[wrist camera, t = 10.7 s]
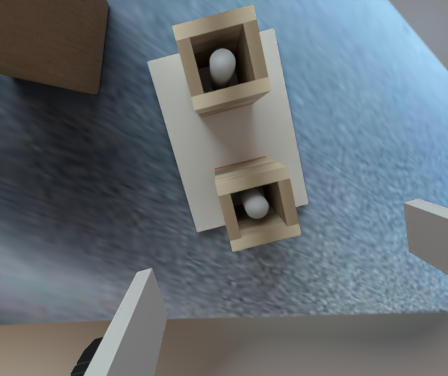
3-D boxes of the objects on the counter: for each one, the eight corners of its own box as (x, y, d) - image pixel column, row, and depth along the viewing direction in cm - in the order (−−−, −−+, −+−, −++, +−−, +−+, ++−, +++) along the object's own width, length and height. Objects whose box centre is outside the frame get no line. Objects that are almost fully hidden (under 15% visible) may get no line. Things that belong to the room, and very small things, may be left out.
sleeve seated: (200, 117, 30) (194, 110, 21) (185, 62, 29) (171, 25, 19) (252, 104, 30) (271, 90, 20) (239, 47, 29) (253, 4, 19)
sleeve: (226, 216, 33) (232, 251, 23) (214, 168, 32) (215, 184, 22) (274, 204, 33) (301, 234, 23) (264, 155, 31) (287, 166, 22)
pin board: (198, 226, 35) (191, 268, 24) (151, 66, 31) (118, 30, 20) (303, 199, 35) (343, 229, 24) (270, 34, 31) (300, -19, 20)
